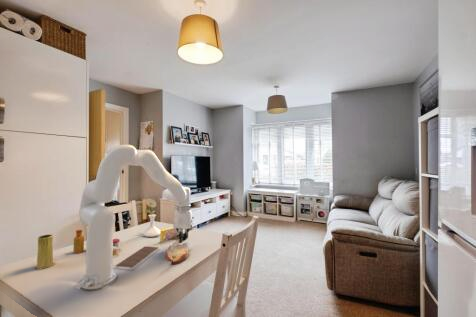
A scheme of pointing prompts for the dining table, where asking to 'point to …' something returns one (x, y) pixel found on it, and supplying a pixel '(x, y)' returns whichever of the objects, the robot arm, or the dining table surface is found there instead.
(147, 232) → the flower in vase
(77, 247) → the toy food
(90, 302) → the dining table surface
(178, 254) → the slice of bread
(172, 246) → the knife
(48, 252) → the vase
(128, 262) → the board
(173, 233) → the candy box
